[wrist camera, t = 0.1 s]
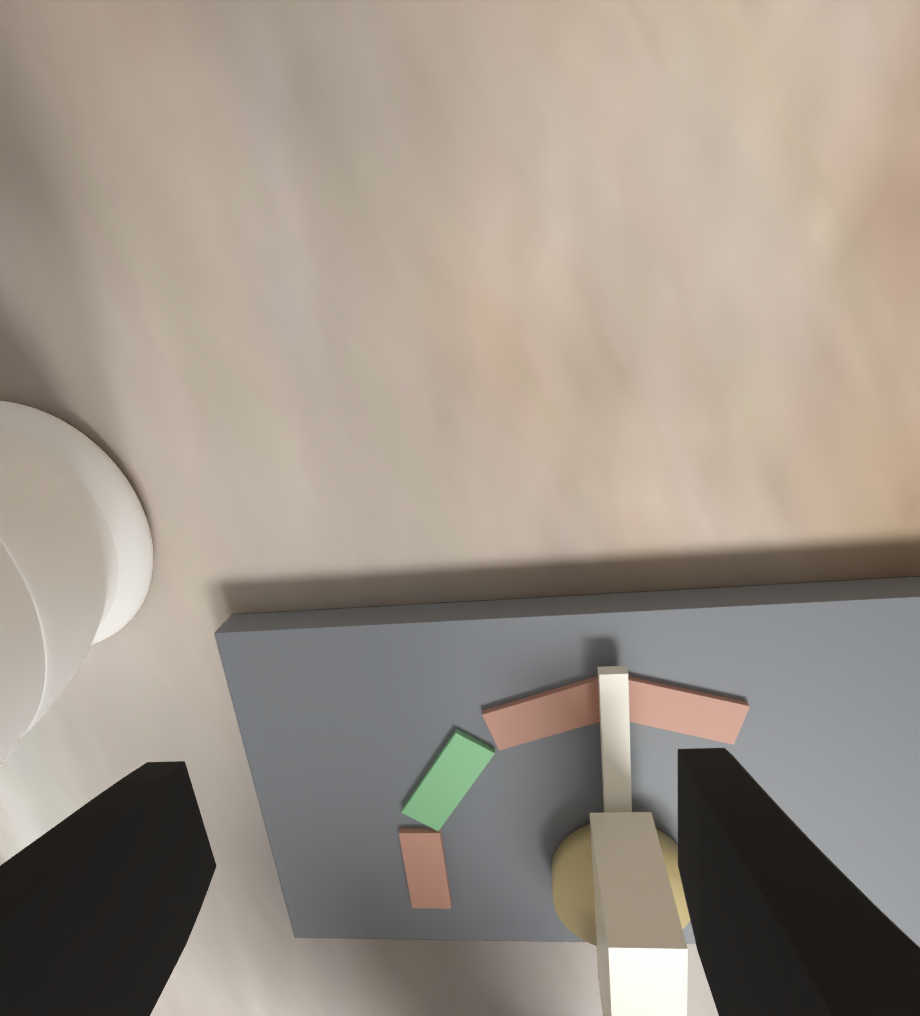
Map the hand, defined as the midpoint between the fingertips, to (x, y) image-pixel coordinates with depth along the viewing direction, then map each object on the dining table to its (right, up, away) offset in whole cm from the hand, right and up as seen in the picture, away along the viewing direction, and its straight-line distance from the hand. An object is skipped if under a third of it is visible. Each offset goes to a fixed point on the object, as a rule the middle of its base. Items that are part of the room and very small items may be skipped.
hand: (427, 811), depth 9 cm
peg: (+5, -6, +10) cm, 13 cm away
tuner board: (+6, -4, +11) cm, 14 cm away
